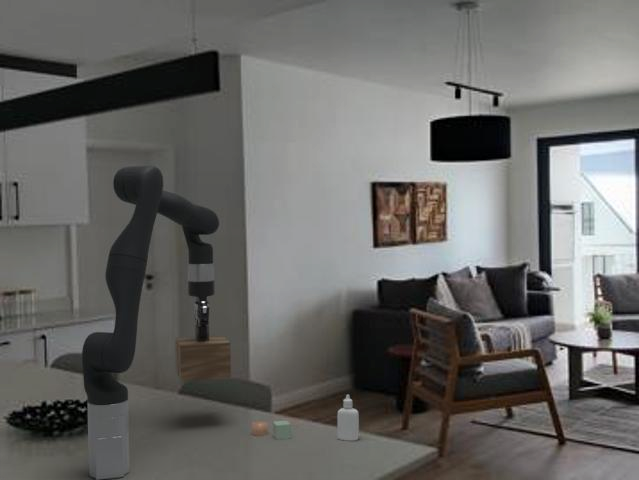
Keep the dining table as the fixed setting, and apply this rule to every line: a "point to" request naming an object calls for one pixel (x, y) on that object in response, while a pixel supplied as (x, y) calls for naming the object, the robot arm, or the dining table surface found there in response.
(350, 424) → the eye dropper bottle
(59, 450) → the dining table surface
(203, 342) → the cover
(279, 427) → the green cube
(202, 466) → the dining table surface
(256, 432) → the orange flattened ball
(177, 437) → the dining table surface
